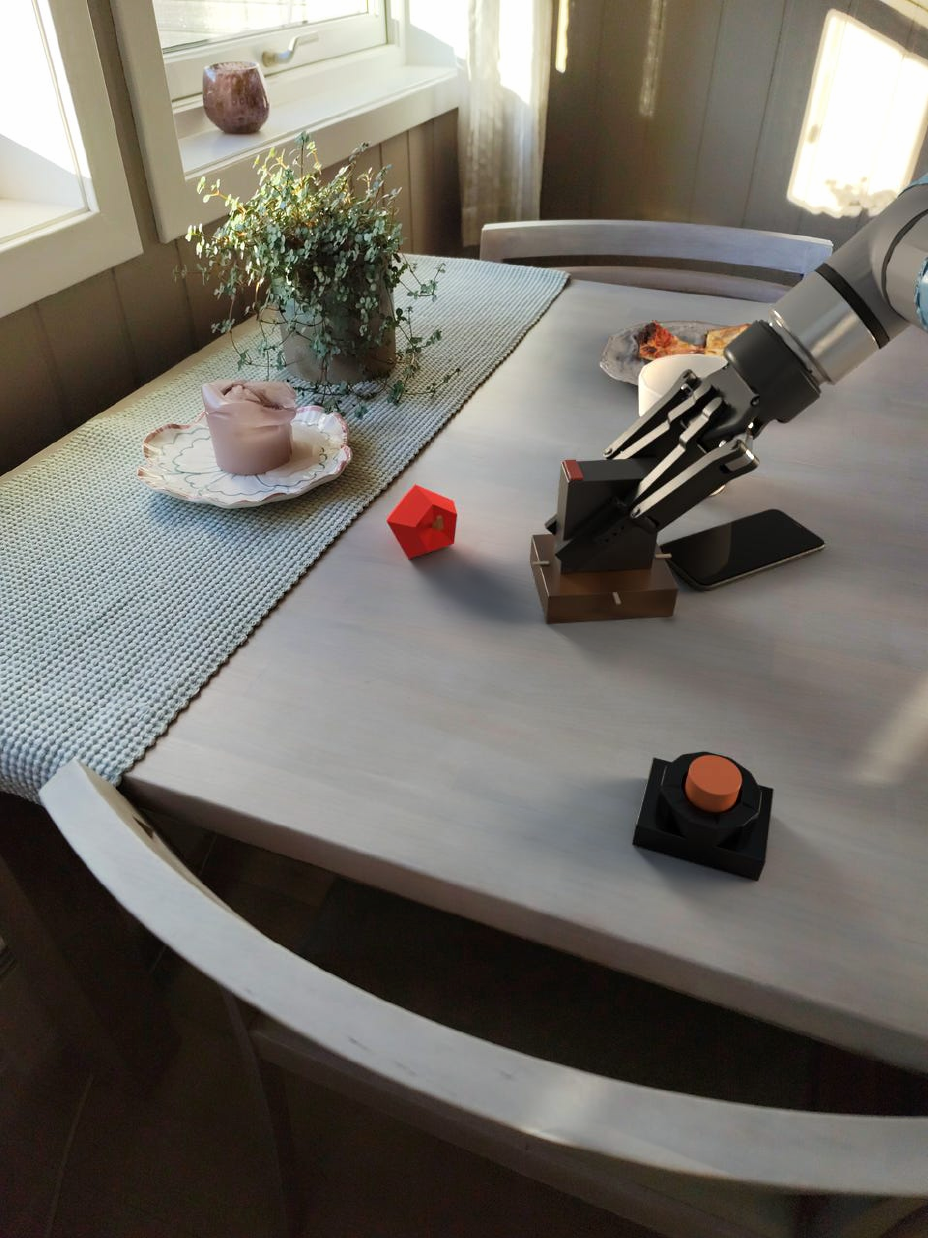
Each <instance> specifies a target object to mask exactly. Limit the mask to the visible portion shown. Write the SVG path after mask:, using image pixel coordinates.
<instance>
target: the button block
mask: <svg viewBox="0 0 928 1238" xmlns="http://www.w3.org/2000/svg"><path fill="white" fill-rule="evenodd" d="M707 755H713V756H719V757H722V758H725V759H727V760H729V761H730V762H732V763H733V764H734V765H735V766H736V767H737V768H738V770H739V771H740V774H741V777H742V782H741V786H740V789H739V792H738V795H737V798H736V801H735V804H734V805H733V806H732V807H731V808H730V809H728V810H726V811H723V812H709V811H705V810H702V809H700V808H698V807H697V806H695V805H694V804H693V803H692V802H691V801H690V800H689V799H688V797H687V795H686V792H685V784H686V780H687V776H688V772H689V768H690V765H691V764H692V762H693V761H694V760H696V759H697V758H699V757H702V756H707ZM774 791H775V789H774V788H772V787H768V786H765V785H761V784H758V782H757V781H756V779H755V777H754V775H753V773H752V772H751V771H750V770H749V769H747V768H746V767H745V766H743V765H742V764H741V763H738V762H737V761H736V760H734V759H733V758H732V757H729V756H725V755H721V754H718V753H714V752H710V751H695V752H689V753H683V754H681V755H679V756H678V757H677V758H675V759H673V761H670V760H665V759H661V758H657V757H652V761H651V764H650V768H649V772H648V776H647V780H646V784H645V788H644V792H643V796H642V800H641V804H640V808H639V811H638V816H637V819H636V824H635V827H634V833H633V836H632V842H631V846H634V847H637V848H641V849H643V850H647V851H651V852H654V853H657V854H661V855H664V856H668V857H672V858H674V859H677V860H682V861H685V862H688V863H692V864H696V865H699V866H702V867H706V868H708V869H713V870H715V871H720V872H723V873H727V874H729V875H734V876H737V877H740V878H744V879H747V880H751V881H754V882H759V880H760V878H761V876H762V873H763V870H764V867H765V865H766V861H767V854H768V847H769V836H770V827H771V819H772V810H773V800H774V793H775V792H774Z"/></svg>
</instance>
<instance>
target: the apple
mask: <svg viewBox="0 0 928 1238" xmlns="http://www.w3.org/2000/svg"><path fill="white" fill-rule="evenodd" d="M398 502H399V503H398V504H396V506H395V507H394V508H393V510H392V511H391V512H390V514H388V516H387V518H386V523H387V524H388V527H389V528H390V530H391V531H392V534H393V535H394V537H395V539H396V540H397V542H398V544H399V546H400V548H401V550H402V551H403V552H404V554H405V556H406V558H407V560H409V559H412V558H416V557H420V556H423V555H426V554H429V553H432V552H435V551H438V550H441V549H444V548H445V549H446V548H448V547H450V546H452V545H454V544H455V541H456V531H457V521H458V512H457V508H456V505H455V501H454V500H452V499H450V498H447V497H445V496H443V495H441V494H438V493H436V492H434V491H431V490H429V489H427V488H425V487H422V486H420V485H418V484H414V485H413V486H412V487H411V488H410V489H409V490H408V491H407V492H406V493H405V495H404V496H403V497H402V498H401V499H400V501H398Z"/></svg>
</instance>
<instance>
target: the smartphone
mask: <svg viewBox="0 0 928 1238" xmlns="http://www.w3.org/2000/svg"><path fill="white" fill-rule="evenodd" d="M658 546H659V548H660V550H661V552H662V554H671V558H664V559H665V561H666V563H667V565H668V567H669V568H670V567H671V569H673V570H674V571H675V572H676V573H677V574H678V575H680V576H681V577H682V578H683V579H684V580H685V581H686V582H688V583H689V584H690V585H691V586H692V587H693V588H695V589H696V590H698V591H700V592H710V591H713V590H716V589H718V588H722V587H724V586H727V585H730V584H733V583H736V582H739V581H741V580H744V579H747V578H750V577H752V576H755V575H758V574H761V573H763V572H766V571H767V572H768V571H769V570H773V569H775V568H777V567H780V566H783V565H786V564H788V563H793V562H794V561H798V560H801V559H803V558H805V557H806V558H807V557H809V556H812V555H814V554H817V553H820V552H822V551H824V550H825V548H826V546H827V544H826V541H825V540H824V539H823V538H822V537H821V536H819V535H817V534H816V533H814V532H813V531H812V530H810V529H809V528H807V527H806V526H804V525H803V524H802V523H800V522H799V521H797V520H796V519H794V518H793V517H791V516H790V515H789V514H787V513H786V512H785V511H782V510H781V509H779V508H769V509H765V510H762V511H759V512H756V513H753V514H750V515H747V516H743V517H741V518H737V519H734V520H731V521H728V522H725V523H722V524H719V525H715V526H713V527H710V528H707V529H703V530H701V531H697V532H695V533H691V534H688V535H685V536H682V537H679V538H675V539H673V540H669V541H667V542H663V543H660V544H658Z"/></svg>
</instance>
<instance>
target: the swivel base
mask: <svg viewBox="0 0 928 1238" xmlns="http://www.w3.org/2000/svg"><path fill="white" fill-rule="evenodd" d="M554 542H555V536H554V535H553V534H552V533H544V534H542V533H541V534H531V539H530V556H529V563H530V567H531V571H532V575H533V579H534V582H535V586H536V590H537V595H538V597H539V601H540V605H541V609H542V612H543V617H544V620H545V623H546V625H550V624H564V623H565V624H566V623H580V622H581V623H582V622H597V621H613V620H627V619H629V620H630V619H643V618H658V617H659V618H661V617H672V616H674V612H675V607H676V602H677V598H678V593H679V586H678V585H677V583H676V580H675V578H674V576H673V574H672V571H671V569H670V566H669V565H668V564H667V563H666V561H665V559H664V558H671V554H662V552H661V550H660V548H659V543H658V542H657V541H656V547H655V553H654V558H653V564H652V568H643V569H627V570H610V571H593V572H576V573H560V571H559V568H558V564H557V561H556V558H555V556H554V553H553V549H554Z"/></svg>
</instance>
